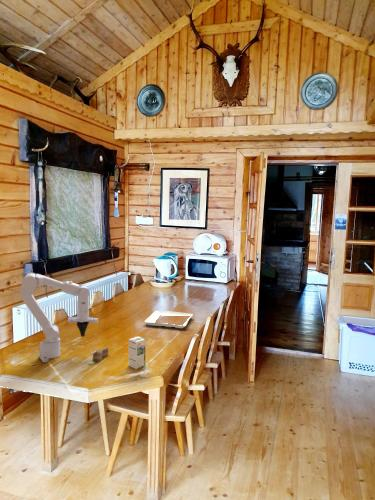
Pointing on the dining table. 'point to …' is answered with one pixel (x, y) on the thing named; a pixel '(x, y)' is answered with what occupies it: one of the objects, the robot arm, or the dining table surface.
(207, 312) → the dining table surface
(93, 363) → the pale green tile
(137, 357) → the syrup box
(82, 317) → the robot arm
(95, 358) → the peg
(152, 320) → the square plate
